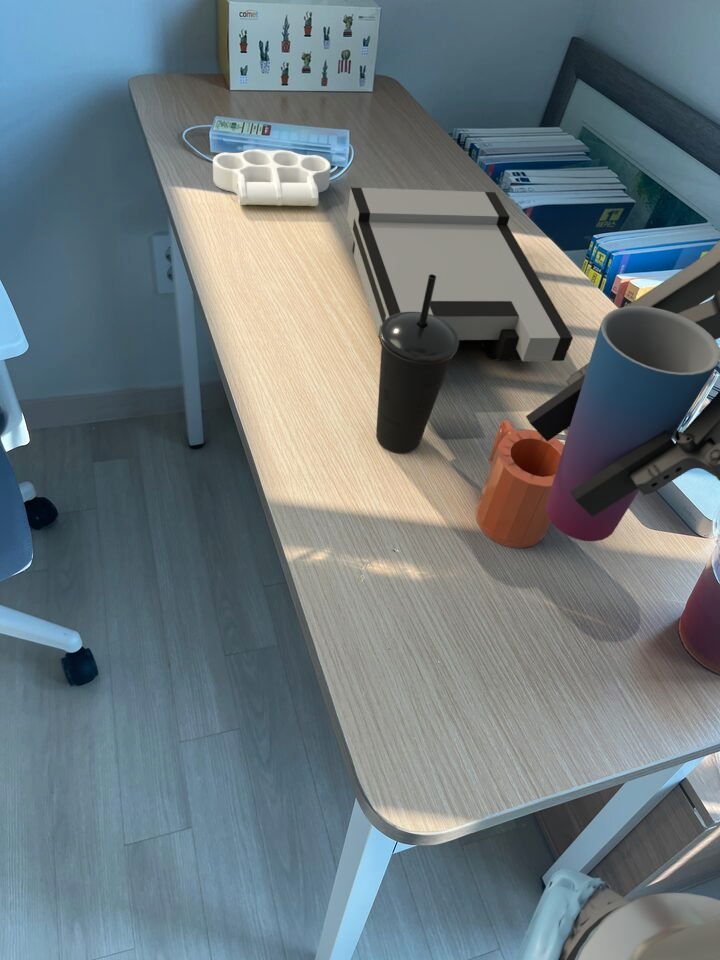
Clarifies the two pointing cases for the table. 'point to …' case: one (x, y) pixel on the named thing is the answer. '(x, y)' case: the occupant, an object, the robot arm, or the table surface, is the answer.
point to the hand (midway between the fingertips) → (558, 464)
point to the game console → (454, 269)
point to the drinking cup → (411, 373)
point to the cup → (628, 405)
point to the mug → (518, 486)
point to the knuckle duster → (272, 177)
